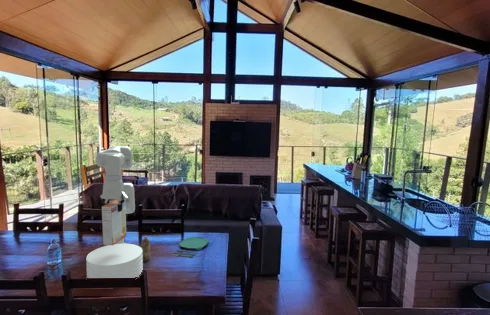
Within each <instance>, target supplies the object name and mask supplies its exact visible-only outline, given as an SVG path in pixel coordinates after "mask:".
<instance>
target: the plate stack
mask: <svg viewBox="0 0 490 315" xmlns="http://www.w3.org/2000/svg"><path fill="white" fill-rule="evenodd" d="M142 258H143V255H142V248H141V246H140V245H137V244H133V243H126V244H114V245H108V246H107V245H104V246H101V247H98V248H96V249H94V250H92V251H91V252H89V253H88V254H87V256H86V260H85V261H86V264H85V265H86V279H87V278H135V277H138V278H139V277H140V276H141V275H142V274H141V272H142V273H143V271H142V270H143V268H144V267H143V266H144V261H143V259H142ZM140 274H141V275H140ZM139 275H140V276H139Z"/></svg>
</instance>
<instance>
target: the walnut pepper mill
mask: <svg viewBox="0 0 490 315" xmlns="http://www.w3.org/2000/svg"><path fill="white" fill-rule="evenodd" d="M140 247H141V248H142V255H143V258H142V259H143V262H149V261H150V260H151V242H150V240H149V238H148V236H144V237H143V239H142V240H141V245H140Z"/></svg>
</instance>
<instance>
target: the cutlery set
mask: <svg viewBox="0 0 490 315" xmlns="http://www.w3.org/2000/svg"><path fill="white" fill-rule="evenodd" d="M209 243H210V240H209V239H208V238H205V237H200V236H199V237H198V236H188V237H185V238H184V239H182V240H180V241H179V243H178V246H179V248H182V249H184V250H182V249H176V251H174V252H173V253H172V254H171V256H174V257H184V258H191V259H192V258H194V256H196V254H199V253H198V252H197V251H201V250H202V249H203V248H205V247H206V246H208V245H209ZM185 249H186V250H185ZM190 250H197V251H196V252H195V251H190Z"/></svg>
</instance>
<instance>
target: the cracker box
mask: <svg viewBox="0 0 490 315" xmlns="http://www.w3.org/2000/svg"><path fill="white" fill-rule="evenodd" d="M118 204H119V203H118V201H117V200H115V201H112V202H110V203H108V204H104V205H102V206H101V219H102V220H101V224H102V244H103V245H104V246H107V245H114V244H116V243H117V242H118V241H120V240H121V239H123V238H124V239H125V237H127V217H126V216H127V214H126V207H125V202H124V203H123V204H122V206H123V209H122V211H120V212H118Z"/></svg>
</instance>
